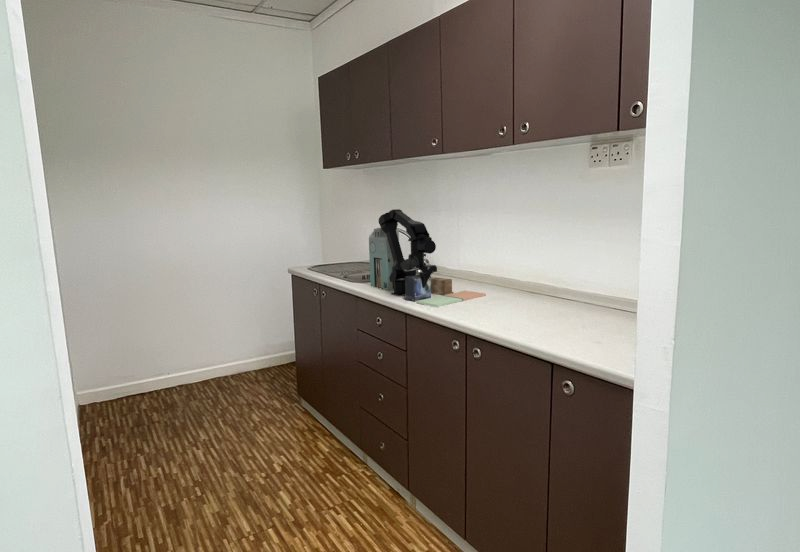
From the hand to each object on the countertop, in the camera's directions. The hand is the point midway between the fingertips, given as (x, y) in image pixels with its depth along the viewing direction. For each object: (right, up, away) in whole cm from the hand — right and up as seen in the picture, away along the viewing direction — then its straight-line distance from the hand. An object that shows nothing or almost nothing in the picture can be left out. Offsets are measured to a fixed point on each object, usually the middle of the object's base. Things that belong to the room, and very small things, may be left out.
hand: (418, 286), depth 231 cm
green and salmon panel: (+15, -5, -2) cm, 16 cm away
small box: (0, -6, +1) cm, 6 cm away
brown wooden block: (+10, -3, +14) cm, 17 cm away
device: (-16, -1, +32) cm, 36 cm away
